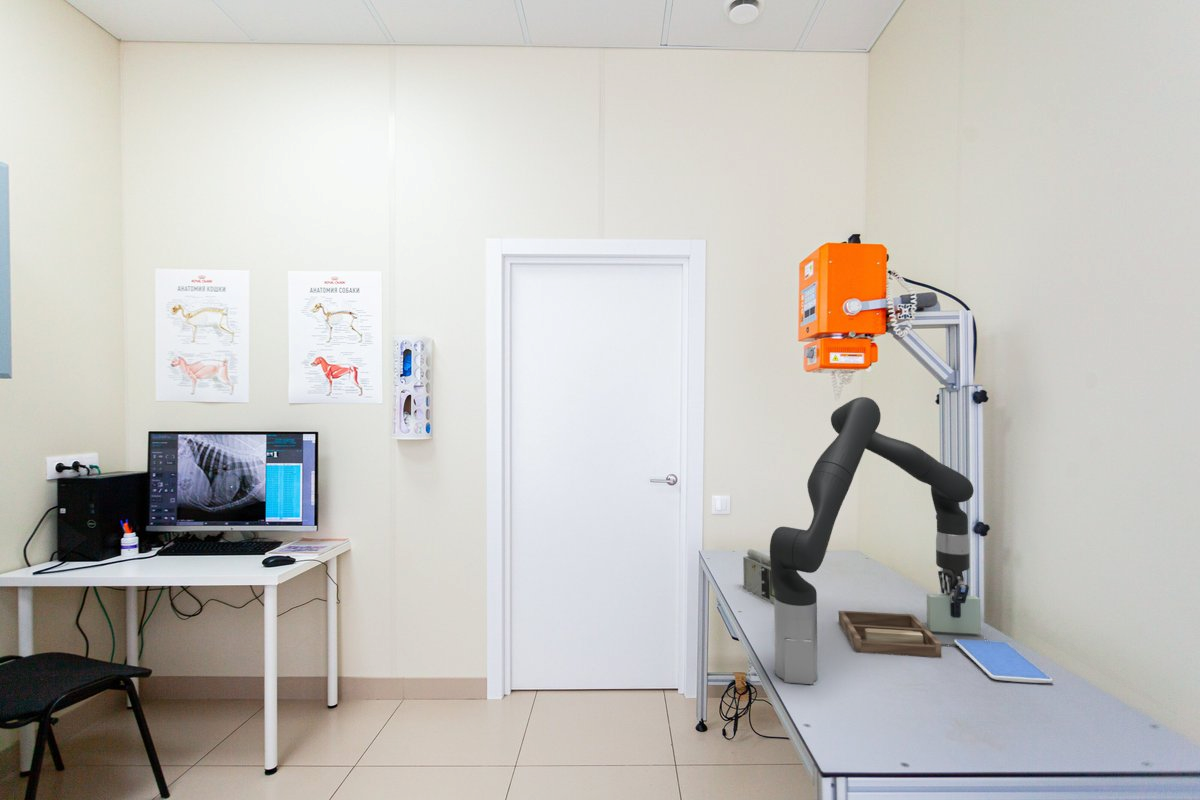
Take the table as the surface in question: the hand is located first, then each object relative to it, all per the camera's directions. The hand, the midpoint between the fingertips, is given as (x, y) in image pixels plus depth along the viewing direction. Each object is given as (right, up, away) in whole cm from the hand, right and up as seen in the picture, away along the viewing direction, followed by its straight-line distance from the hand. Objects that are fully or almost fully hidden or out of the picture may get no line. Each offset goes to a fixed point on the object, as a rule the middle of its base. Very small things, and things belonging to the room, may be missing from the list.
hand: (953, 614), depth 151 cm
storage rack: (-19, -6, -2) cm, 19 cm away
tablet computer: (+1, -5, -16) cm, 17 cm away
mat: (0, -6, 0) cm, 6 cm away
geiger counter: (-39, -6, +29) cm, 49 cm away
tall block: (0, -4, 0) cm, 4 cm away
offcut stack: (-19, -6, -6) cm, 21 cm away
